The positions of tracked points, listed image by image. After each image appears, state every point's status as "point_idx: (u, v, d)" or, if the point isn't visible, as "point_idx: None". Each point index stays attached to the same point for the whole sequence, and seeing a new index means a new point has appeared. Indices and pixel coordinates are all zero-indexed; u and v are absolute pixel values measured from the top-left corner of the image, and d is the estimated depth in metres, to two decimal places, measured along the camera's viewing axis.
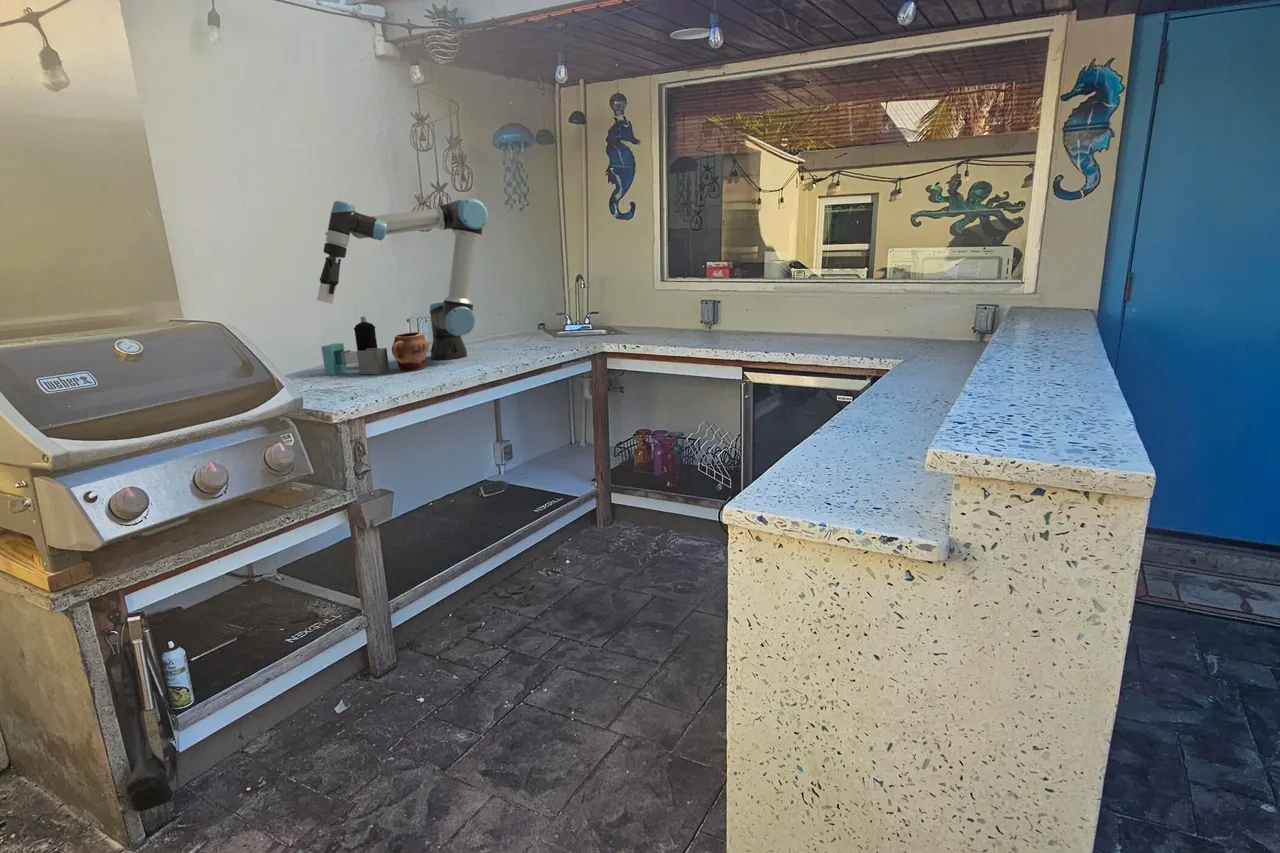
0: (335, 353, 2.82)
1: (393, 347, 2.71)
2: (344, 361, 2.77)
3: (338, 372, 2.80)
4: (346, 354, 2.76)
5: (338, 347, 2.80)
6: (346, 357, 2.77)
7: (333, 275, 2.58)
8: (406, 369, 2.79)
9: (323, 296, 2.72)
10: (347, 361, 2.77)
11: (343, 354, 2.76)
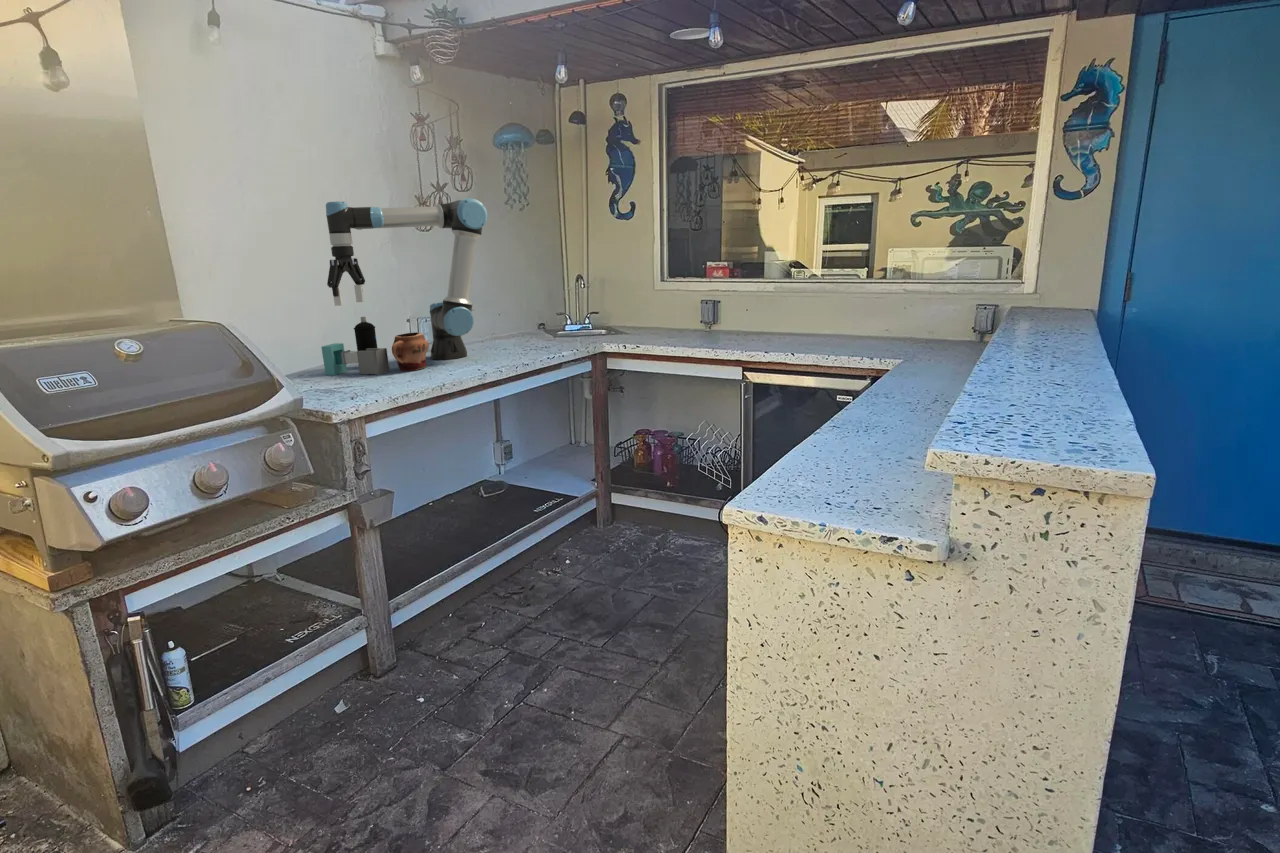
0: (335, 353, 2.82)
1: (393, 347, 2.71)
2: (344, 361, 2.77)
3: (338, 372, 2.80)
4: (346, 354, 2.76)
5: (338, 347, 2.80)
6: (346, 357, 2.77)
7: (329, 278, 2.62)
8: (406, 369, 2.79)
9: (360, 297, 2.78)
10: (347, 361, 2.77)
11: (343, 354, 2.76)
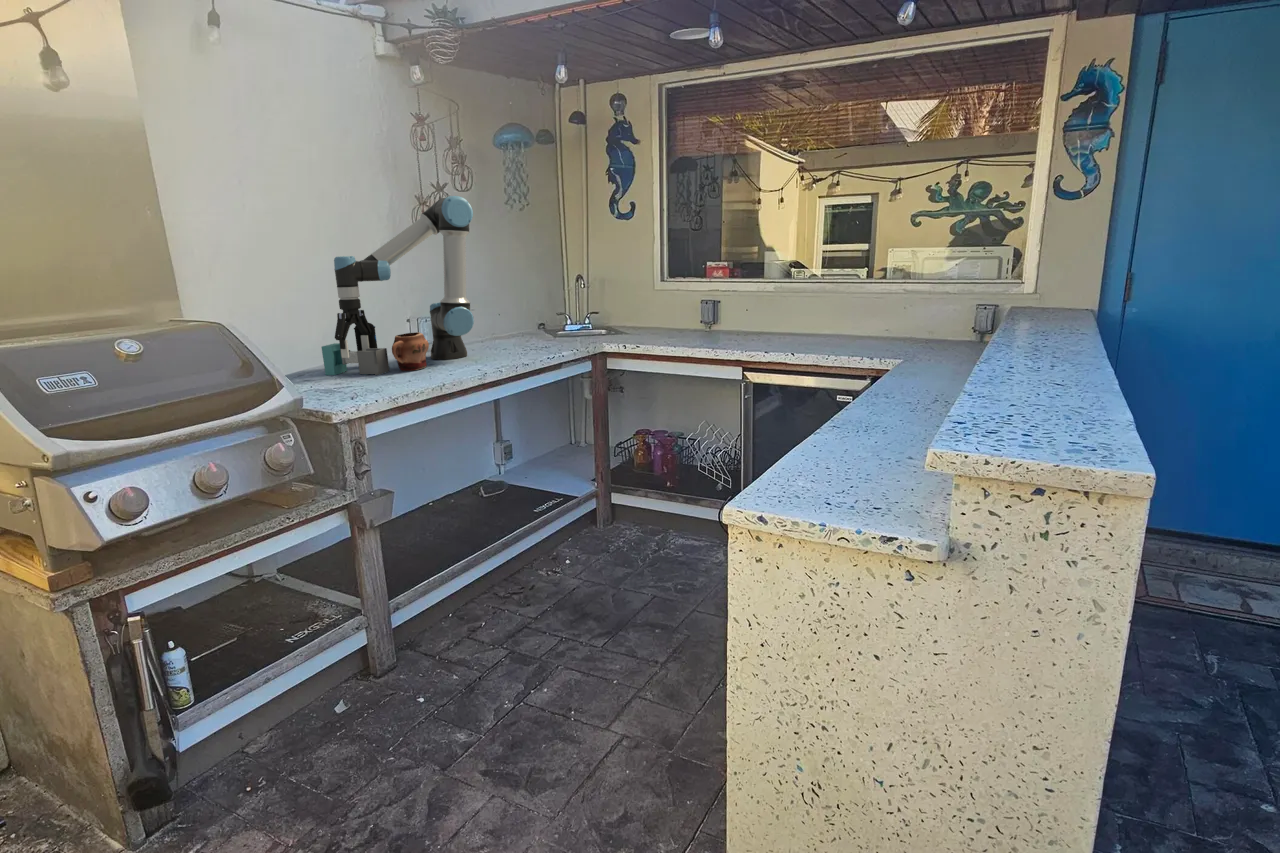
0: (335, 353, 2.82)
1: (393, 347, 2.71)
2: (344, 361, 2.77)
3: (338, 372, 2.80)
4: None
5: (338, 347, 2.80)
6: None
7: (336, 331, 2.67)
8: (406, 369, 2.79)
9: (366, 347, 2.83)
10: (347, 361, 2.77)
11: None
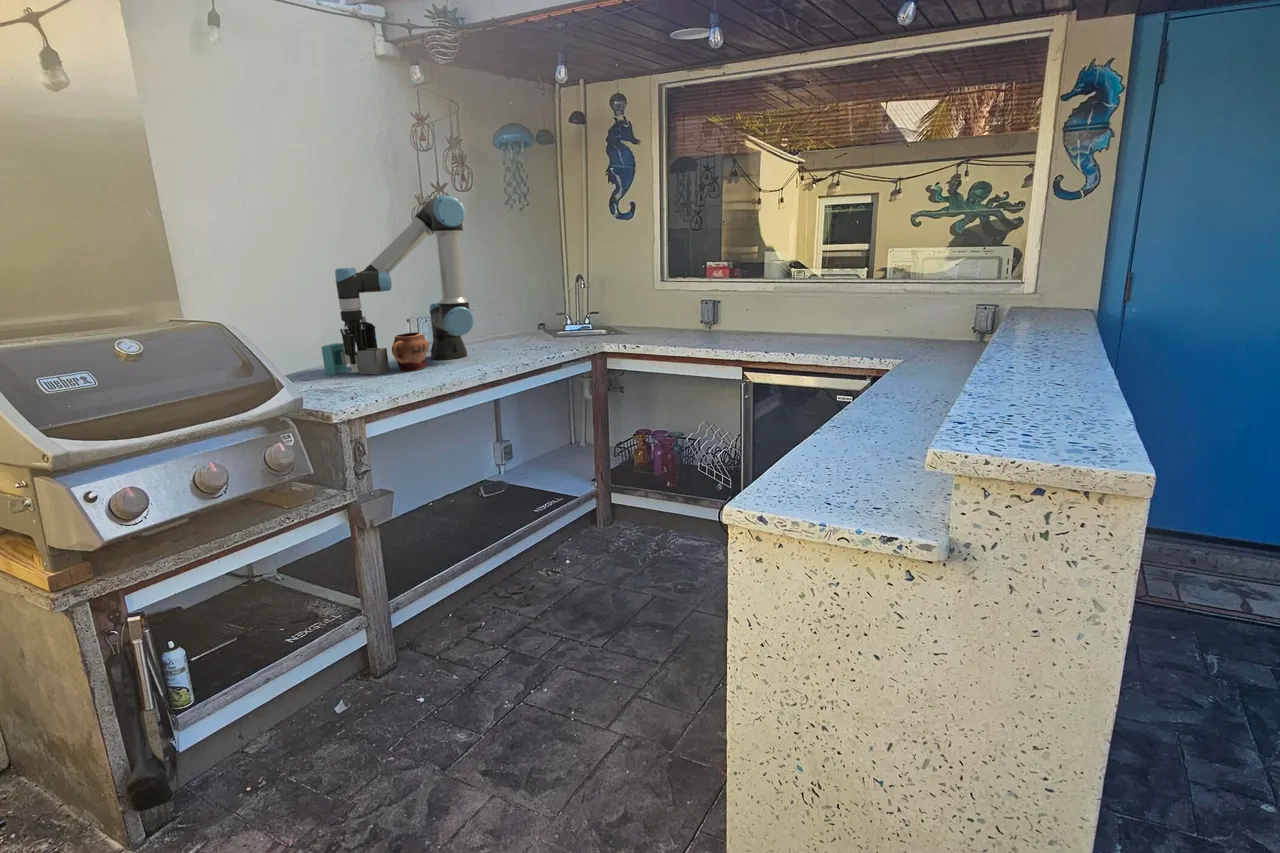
0: (335, 353, 2.82)
1: (393, 347, 2.71)
2: (344, 361, 2.77)
3: (338, 372, 2.80)
4: None
5: (338, 347, 2.80)
6: (346, 357, 2.77)
7: (345, 348, 2.72)
8: (406, 369, 2.79)
9: None
10: (347, 361, 2.77)
11: (343, 354, 2.76)
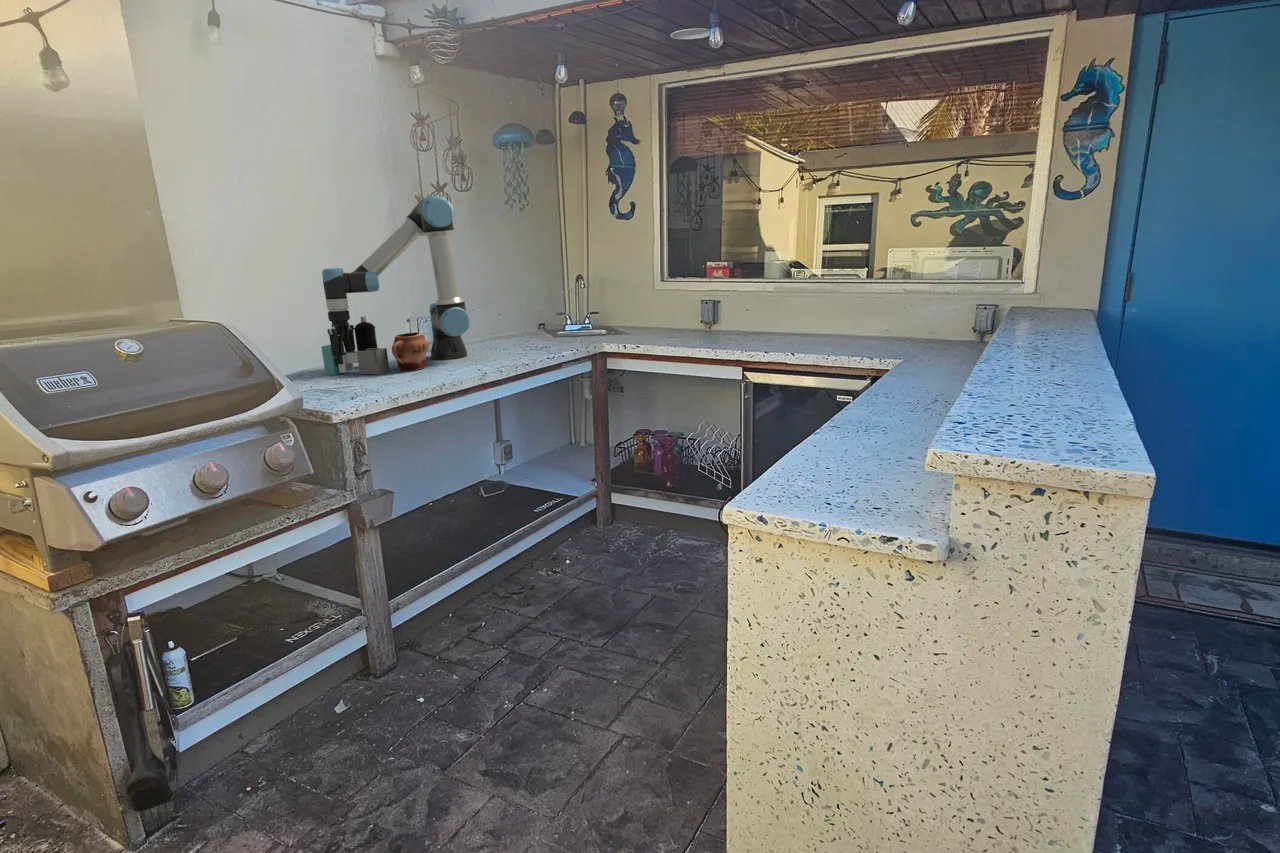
0: None
1: (393, 347, 2.71)
2: None
3: (338, 372, 2.80)
4: None
5: None
6: (334, 357, 2.78)
7: (332, 348, 2.73)
8: (406, 369, 2.79)
9: (350, 365, 2.82)
10: (335, 361, 2.78)
11: None
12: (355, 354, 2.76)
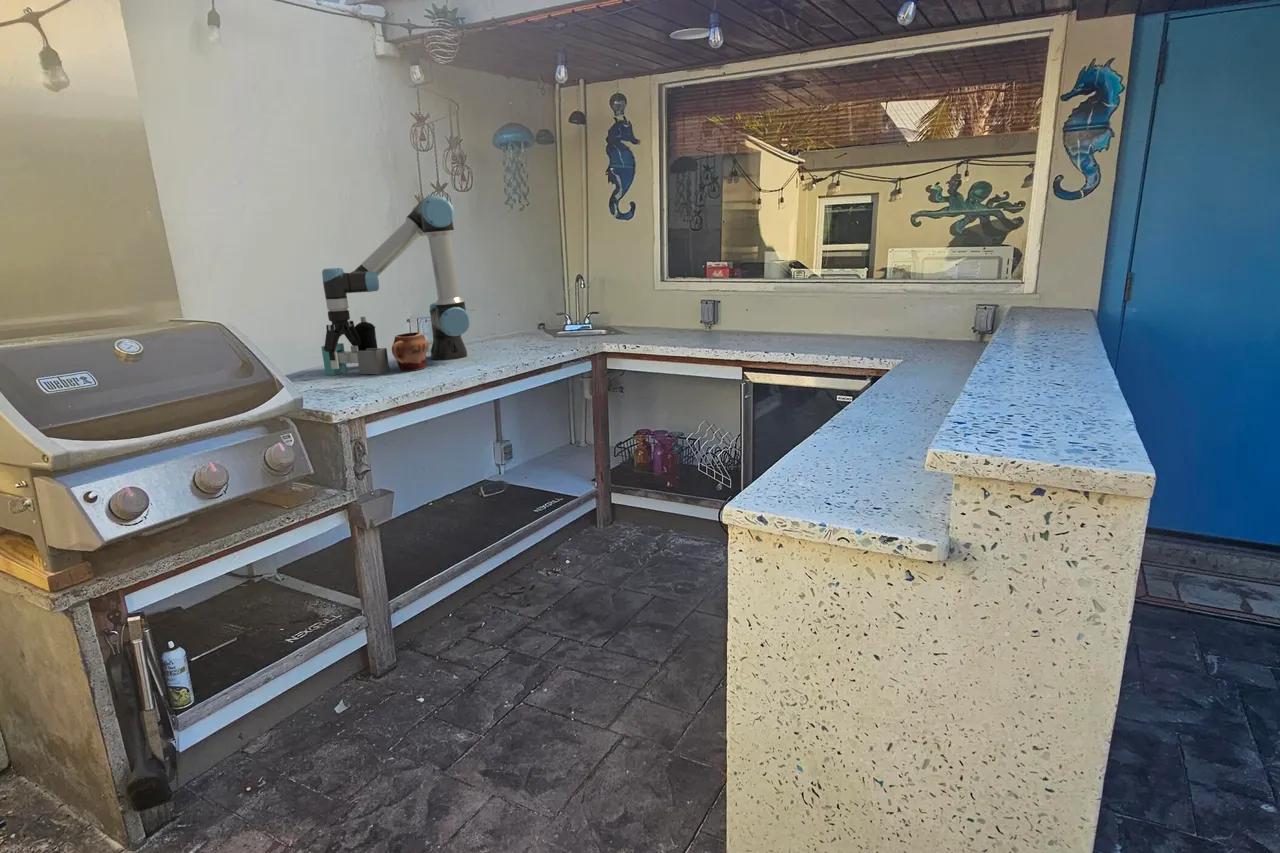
0: None
1: (393, 347, 2.71)
2: None
3: (338, 372, 2.80)
4: None
5: (338, 347, 2.80)
6: None
7: (326, 343, 2.69)
8: (406, 369, 2.79)
9: None
10: None
11: None
12: (355, 354, 2.76)
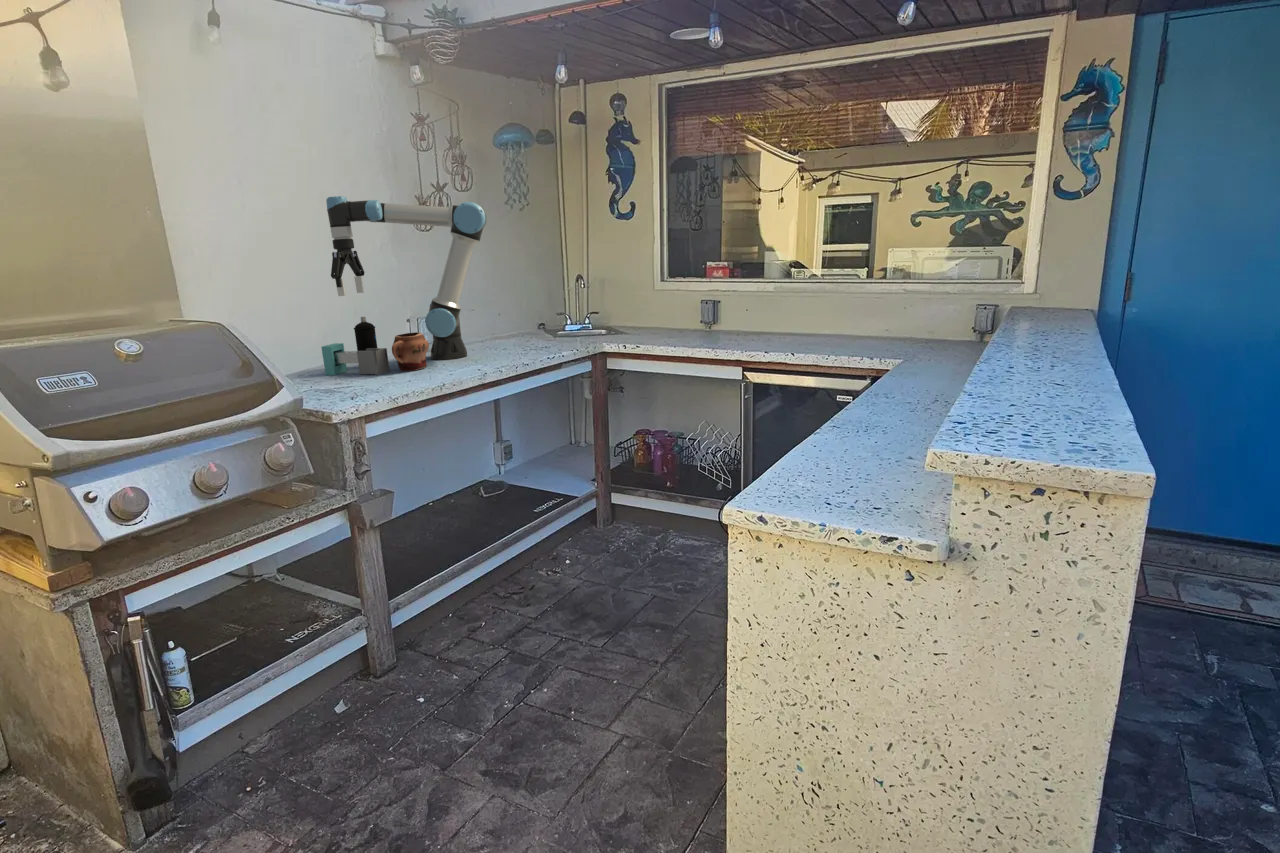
0: None
1: (393, 347, 2.71)
2: None
3: (338, 372, 2.80)
4: None
5: (338, 347, 2.80)
6: None
7: (332, 270, 2.74)
8: (406, 369, 2.79)
9: (360, 288, 2.91)
10: None
11: None
12: (355, 354, 2.76)
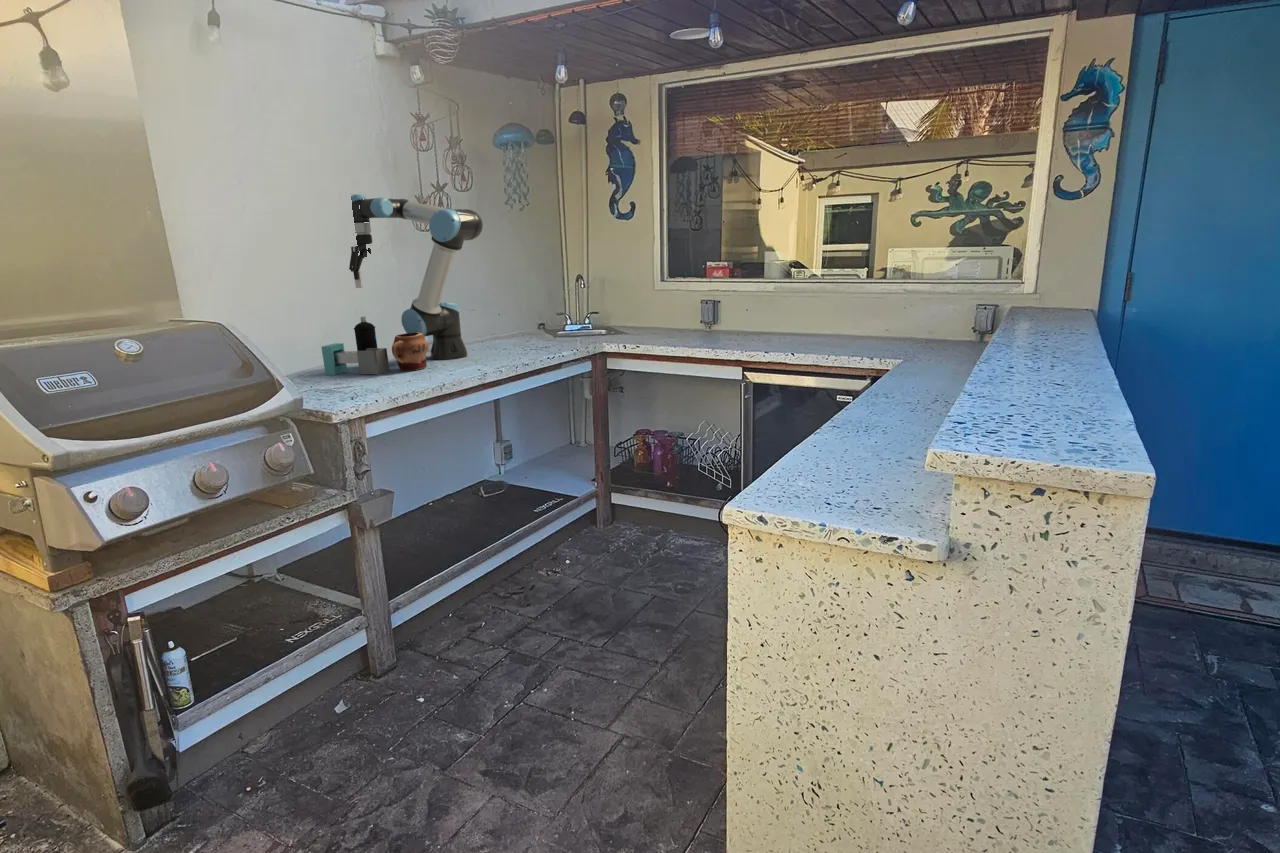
0: None
1: (393, 347, 2.71)
2: None
3: (338, 372, 2.80)
4: None
5: (338, 347, 2.80)
6: None
7: (351, 263, 2.92)
8: (406, 369, 2.79)
9: None
10: None
11: None
12: (355, 354, 2.76)
